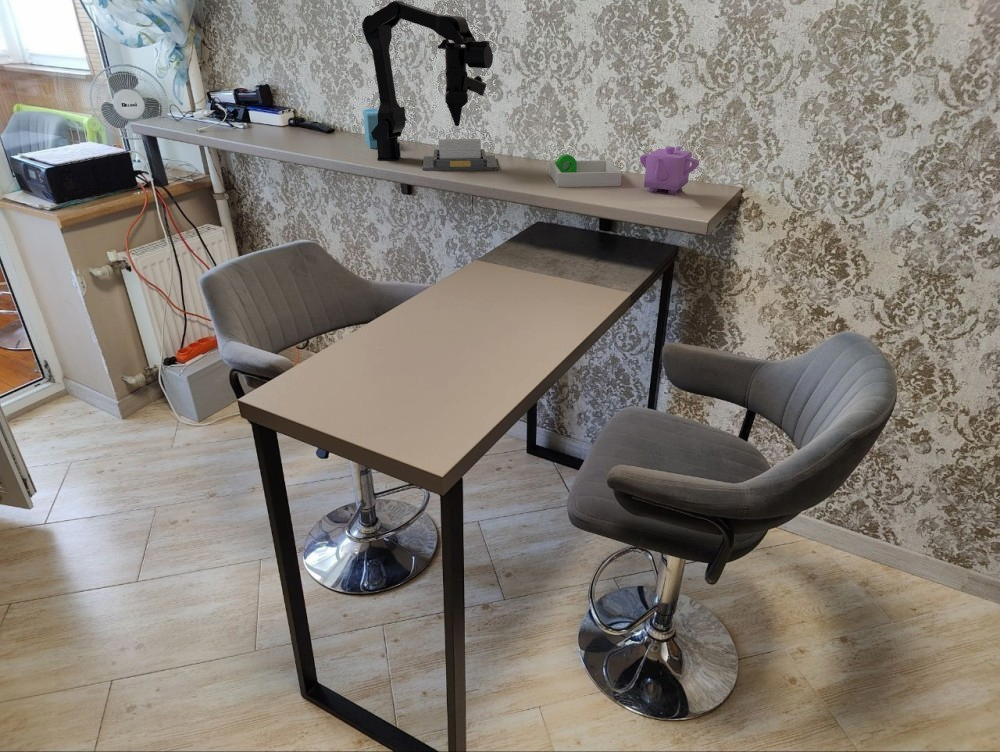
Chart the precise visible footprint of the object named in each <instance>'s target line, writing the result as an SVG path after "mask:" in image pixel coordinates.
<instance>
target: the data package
mask: <svg viewBox="0 0 1000 752" xmlns="http://www.w3.org/2000/svg"><path fill="white" fill-rule="evenodd" d="M378 110H379V109H377V108H372V109H370V108H368V109H367V108H366V109H363V111H362V116H363V126H364V138H365V143H366V145H367V146H368V148H369V149H370V150H372V149H377V140H374V139H373V137H372V135H371V132H372V131H373V129H374V128H375V127H376V126H377V124H378Z"/></svg>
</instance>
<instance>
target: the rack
mask: <svg viewBox="0 0 1000 752" xmlns="http://www.w3.org/2000/svg"><path fill="white" fill-rule="evenodd" d="M421 169H422V171H424V172H425V171H427V172H428V171H429V172H430V171H434V172H435V171H436V172H438V171H441V172H443V171H446V172H450V171H451V172H455V171H456V172H467V171H468V172H472V171H473V172H474V171H475V172H479V171H483V172H485V171H499V166H498V163H497V159H496V156H495V155H491V154H489V155H486V151H485V148H481V159H461V160H440V154H439V149H434V150H433V155H430V156H427V155H425V156H423V162H422V168H421Z"/></svg>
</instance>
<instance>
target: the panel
mask: <svg viewBox="0 0 1000 752" xmlns="http://www.w3.org/2000/svg"><path fill="white" fill-rule="evenodd" d="M481 142H482V141H481V138H453V139H452V138H450V139H448V138H445V139H444V138H441V139H440V138H439V139H438V150H439V154H440V160H461V159H481V149H482V148H481V146H482V145H481V144H482V143H481Z"/></svg>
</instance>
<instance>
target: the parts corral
mask: <svg viewBox="0 0 1000 752" xmlns="http://www.w3.org/2000/svg"><path fill="white" fill-rule="evenodd" d="M556 162H557V160H549V169H548V172H549V175H550V177H551V178H552V180H553V183H555V185H556V187H557V188H571V187H573V188H576V187H577V188H579V187H581V188H583V187H584V188H585V187H587V188H588V187H589V188H590V187H621V185H622V175H623V174H622V172H621V170H619V168H618V167H616V166H615V165H614V164H613V163H612V162H611V161H610V160H608V159H595V160H593V159H592V160H591V159H590V160H585V159H584V160H580V159H579V160H576V162H577V169H576V173H561V172H560V170H559V169H558V167H557V166H556ZM569 166H570V163H569V161H567V162H565V163H564V164H563V170H567V169H568V168H569Z"/></svg>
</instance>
